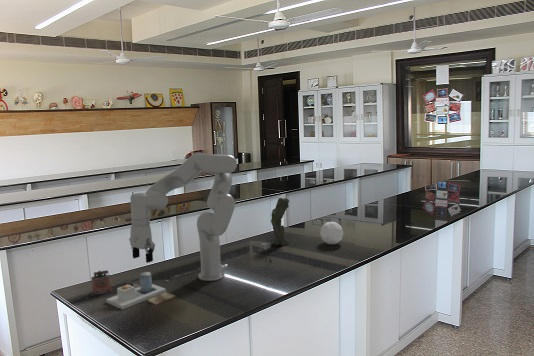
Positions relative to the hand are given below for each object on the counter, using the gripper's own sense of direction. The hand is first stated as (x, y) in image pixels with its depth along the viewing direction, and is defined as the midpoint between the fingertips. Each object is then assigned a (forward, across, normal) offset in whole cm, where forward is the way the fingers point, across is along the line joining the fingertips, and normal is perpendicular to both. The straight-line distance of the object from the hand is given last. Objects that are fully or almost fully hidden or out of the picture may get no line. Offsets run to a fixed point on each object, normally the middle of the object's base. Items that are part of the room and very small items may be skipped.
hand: (142, 259), depth 198 cm
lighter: (+16, -18, -10) cm, 26 cm away
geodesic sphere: (+13, +29, +110) cm, 114 cm away
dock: (+16, 0, -4) cm, 16 cm away
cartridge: (+16, 0, +1) cm, 16 cm away
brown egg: (+14, 0, -9) cm, 17 cm away
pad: (+16, +11, +1) cm, 19 cm away
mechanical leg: (+14, +5, +92) cm, 93 cm away
